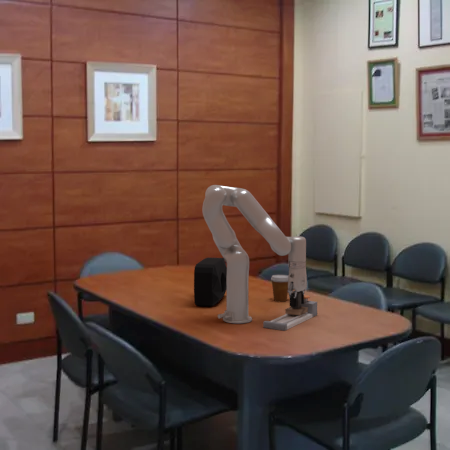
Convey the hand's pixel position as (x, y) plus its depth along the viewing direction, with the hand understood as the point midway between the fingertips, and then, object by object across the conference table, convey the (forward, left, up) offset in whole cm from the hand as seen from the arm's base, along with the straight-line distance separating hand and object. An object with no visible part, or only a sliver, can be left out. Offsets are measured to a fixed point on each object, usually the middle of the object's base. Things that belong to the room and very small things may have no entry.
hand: (296, 304), depth 312 cm
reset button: (+8, +3, 0) cm, 8 cm away
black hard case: (-7, +51, -6) cm, 52 cm away
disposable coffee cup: (+20, +32, -6) cm, 38 cm away
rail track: (-5, -2, -6) cm, 8 cm away
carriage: (0, 0, -4) cm, 4 cm away
